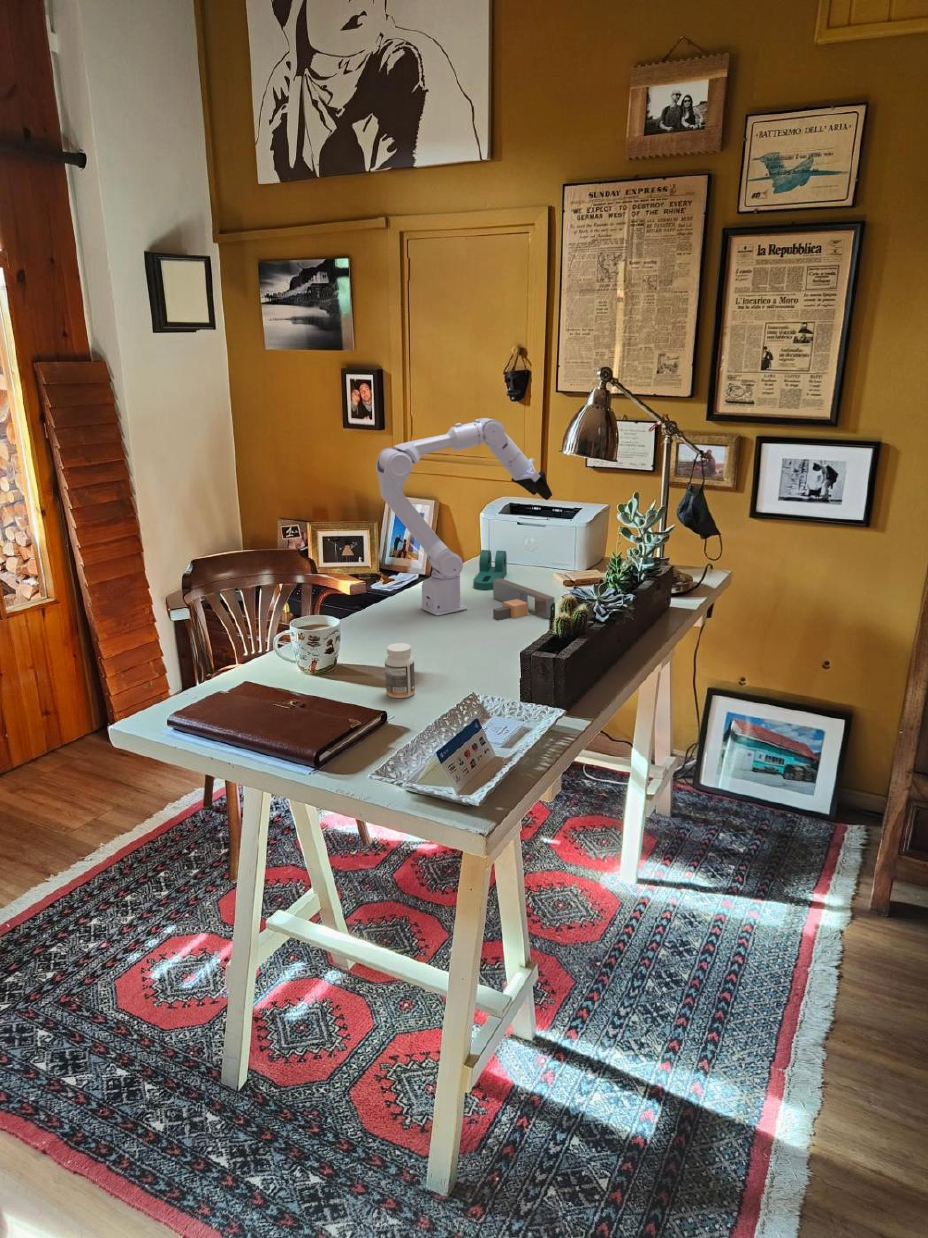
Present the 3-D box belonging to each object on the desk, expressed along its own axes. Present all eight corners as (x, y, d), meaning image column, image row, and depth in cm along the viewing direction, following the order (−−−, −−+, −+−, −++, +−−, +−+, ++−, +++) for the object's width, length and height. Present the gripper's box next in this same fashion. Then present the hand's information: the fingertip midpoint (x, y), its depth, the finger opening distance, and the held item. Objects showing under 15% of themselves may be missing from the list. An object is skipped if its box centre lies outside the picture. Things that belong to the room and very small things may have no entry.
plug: (500, 621, 219) (501, 609, 218) (490, 617, 222) (490, 604, 221) (528, 615, 223) (528, 603, 222) (517, 610, 227) (517, 598, 226)
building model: (546, 619, 220) (546, 599, 218) (493, 598, 237) (493, 579, 236) (553, 617, 221) (554, 597, 220) (500, 596, 238) (500, 578, 237)
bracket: (484, 573, 262) (483, 547, 260) (506, 574, 261) (506, 548, 258) (471, 590, 245) (470, 562, 243) (495, 591, 244) (495, 563, 242)
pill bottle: (400, 686, 180) (398, 639, 177) (421, 692, 177) (419, 645, 174) (380, 694, 176) (378, 647, 173) (401, 701, 173) (399, 654, 170)
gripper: (534, 449, 217) (566, 488, 223) (510, 442, 230) (541, 479, 236) (514, 469, 217) (546, 508, 223) (491, 461, 229) (523, 498, 236)
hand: (542, 494), depth 229 cm, fingers open, 7 cm apart
